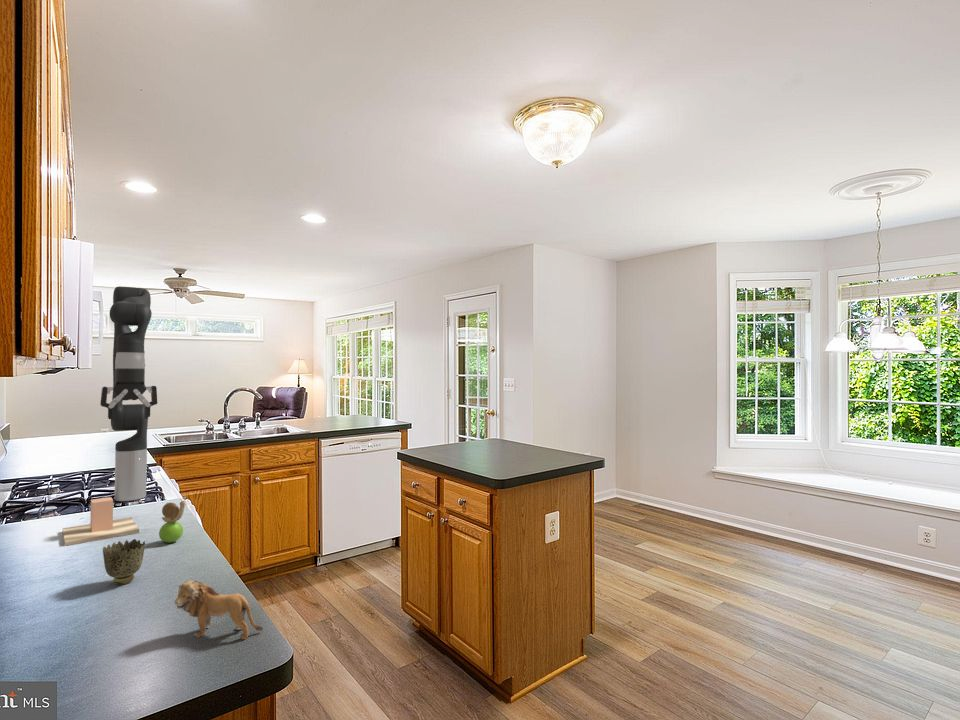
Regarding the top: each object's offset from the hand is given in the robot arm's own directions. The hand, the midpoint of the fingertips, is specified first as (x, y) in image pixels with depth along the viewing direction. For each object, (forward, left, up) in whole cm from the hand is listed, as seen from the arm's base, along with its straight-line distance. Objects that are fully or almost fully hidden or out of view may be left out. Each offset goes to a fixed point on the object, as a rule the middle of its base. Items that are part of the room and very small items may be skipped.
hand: (129, 419), depth 154 cm
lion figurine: (+92, +2, -30) cm, 97 cm away
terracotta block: (+12, -7, -29) cm, 32 cm away
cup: (+56, -7, -30) cm, 64 cm away
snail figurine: (+34, +6, -30) cm, 46 cm away
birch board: (+12, -8, -30) cm, 33 cm away
